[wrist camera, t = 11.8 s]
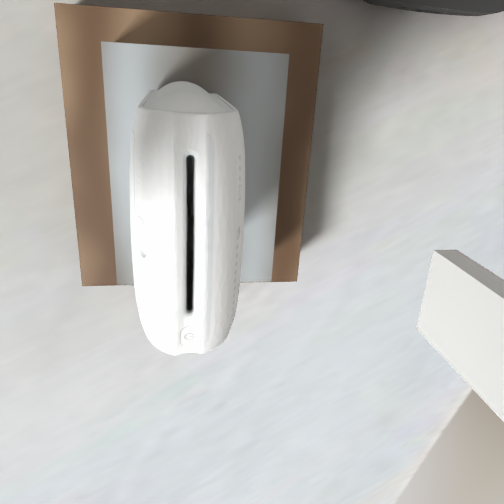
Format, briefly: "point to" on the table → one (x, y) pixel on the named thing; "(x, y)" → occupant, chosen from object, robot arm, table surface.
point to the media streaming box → (445, 6)
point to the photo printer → (186, 216)
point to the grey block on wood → (213, 81)
